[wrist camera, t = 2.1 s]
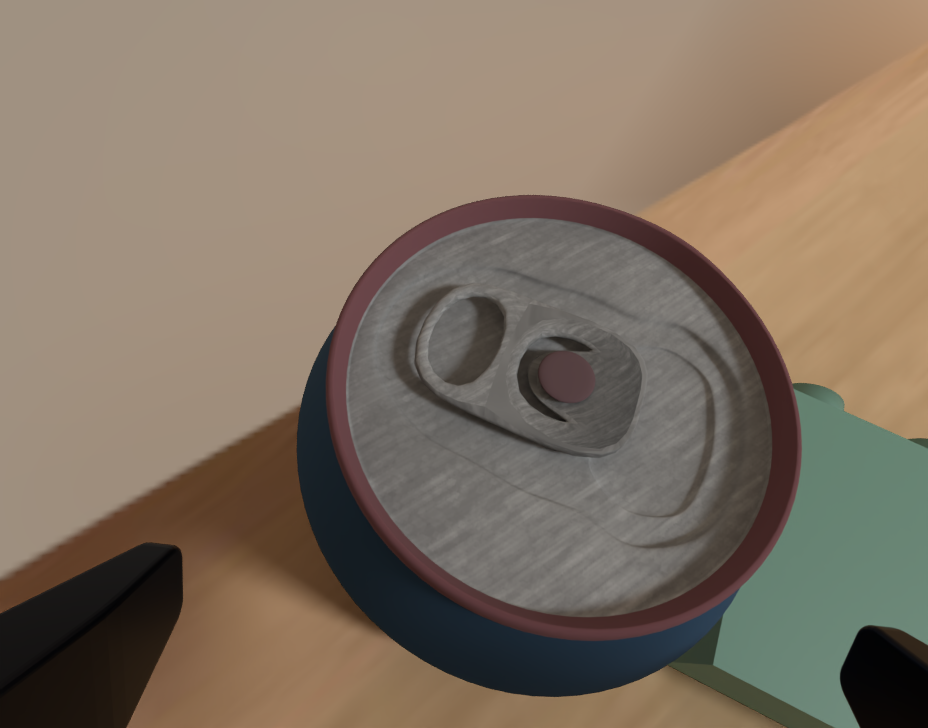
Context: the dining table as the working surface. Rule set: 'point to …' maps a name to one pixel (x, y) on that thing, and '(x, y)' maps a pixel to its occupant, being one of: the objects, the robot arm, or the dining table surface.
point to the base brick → (826, 571)
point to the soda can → (547, 445)
